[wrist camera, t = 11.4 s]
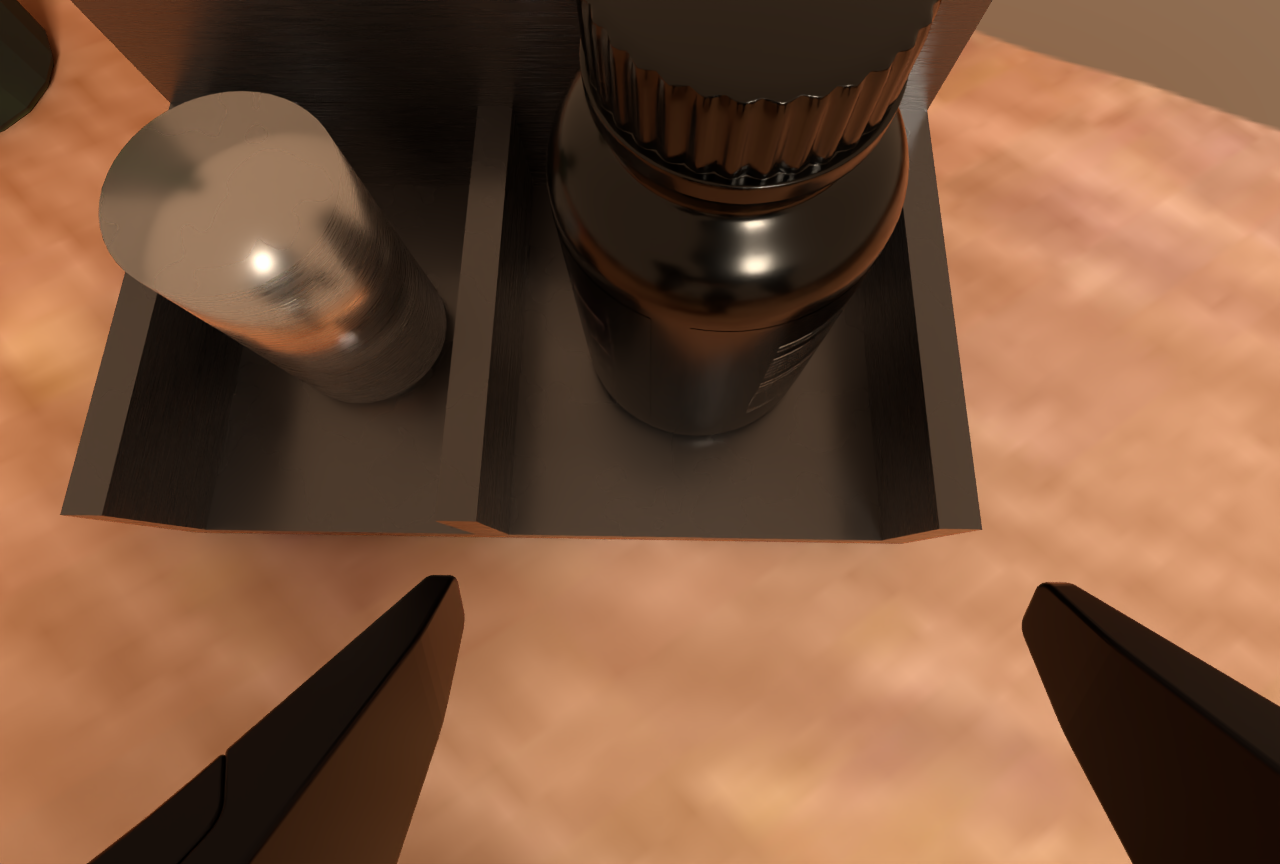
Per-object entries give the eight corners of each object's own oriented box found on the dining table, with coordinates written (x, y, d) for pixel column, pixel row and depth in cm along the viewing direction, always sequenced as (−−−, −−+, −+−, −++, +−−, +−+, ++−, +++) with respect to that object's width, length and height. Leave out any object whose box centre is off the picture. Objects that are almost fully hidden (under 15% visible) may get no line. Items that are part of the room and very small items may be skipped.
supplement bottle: (766, 227, 20) (935, -268, 8) (825, 415, 18) (1139, 118, 7) (568, 267, 20) (461, -193, 8) (609, 462, 18) (549, 234, 6)
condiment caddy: (901, 543, 18) (1090, 510, 11) (197, 532, 19) (-123, 492, 11) (866, 183, 22) (991, -41, 14) (270, 177, 22) (66, -48, 14)
